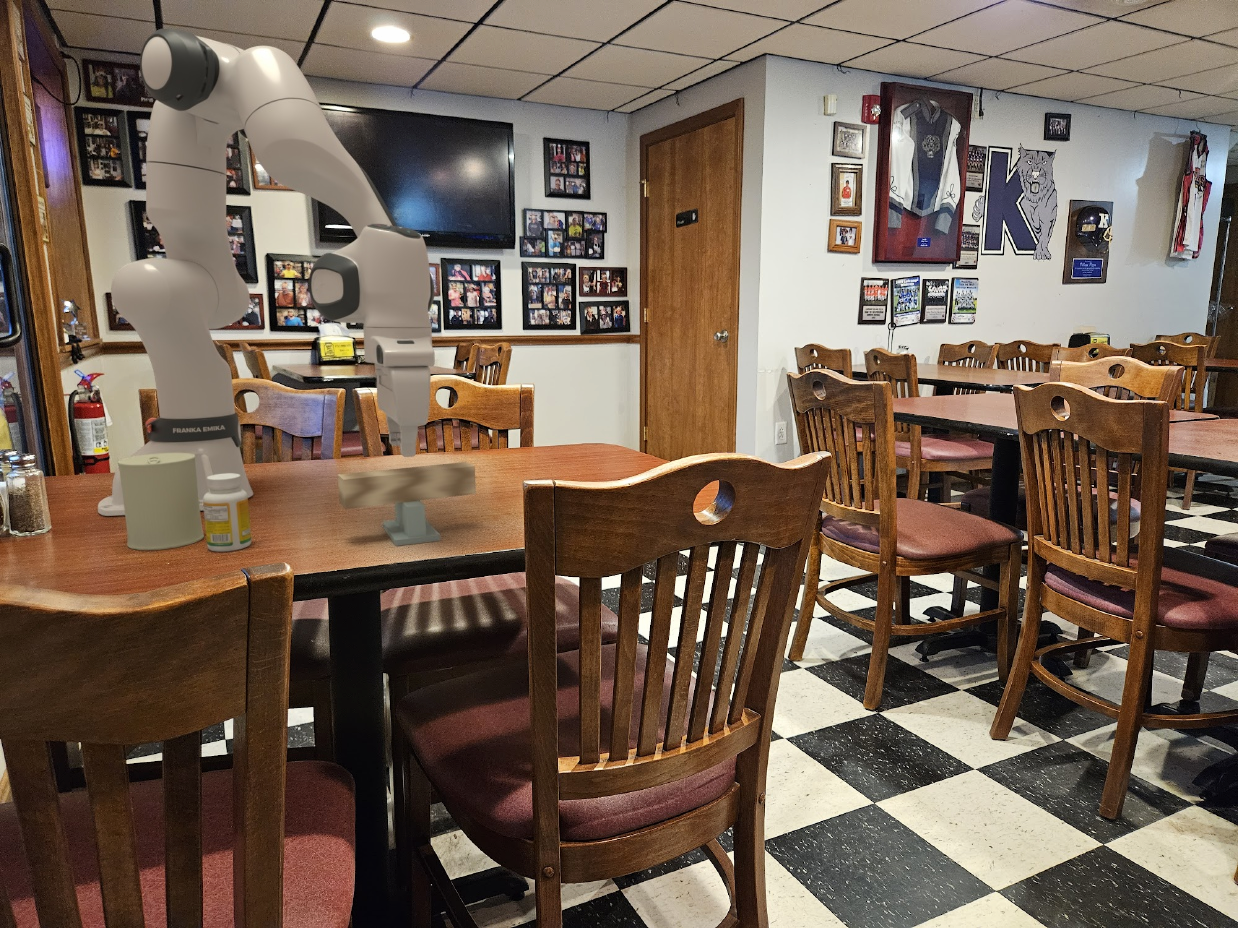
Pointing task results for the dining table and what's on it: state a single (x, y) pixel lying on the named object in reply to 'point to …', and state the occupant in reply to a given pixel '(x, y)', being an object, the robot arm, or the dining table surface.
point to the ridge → (410, 525)
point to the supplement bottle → (226, 513)
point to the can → (160, 500)
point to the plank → (406, 484)
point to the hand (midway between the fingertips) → (402, 450)
